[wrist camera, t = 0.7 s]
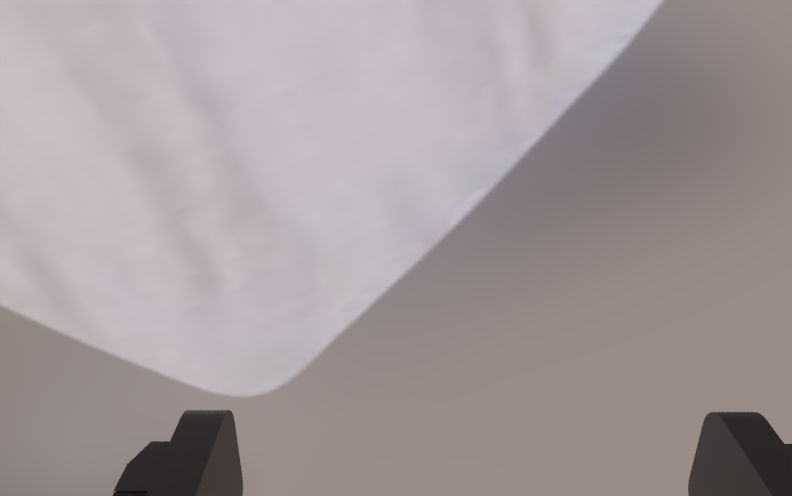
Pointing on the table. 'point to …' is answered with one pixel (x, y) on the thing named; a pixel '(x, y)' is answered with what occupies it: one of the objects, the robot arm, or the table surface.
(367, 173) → the table surface
